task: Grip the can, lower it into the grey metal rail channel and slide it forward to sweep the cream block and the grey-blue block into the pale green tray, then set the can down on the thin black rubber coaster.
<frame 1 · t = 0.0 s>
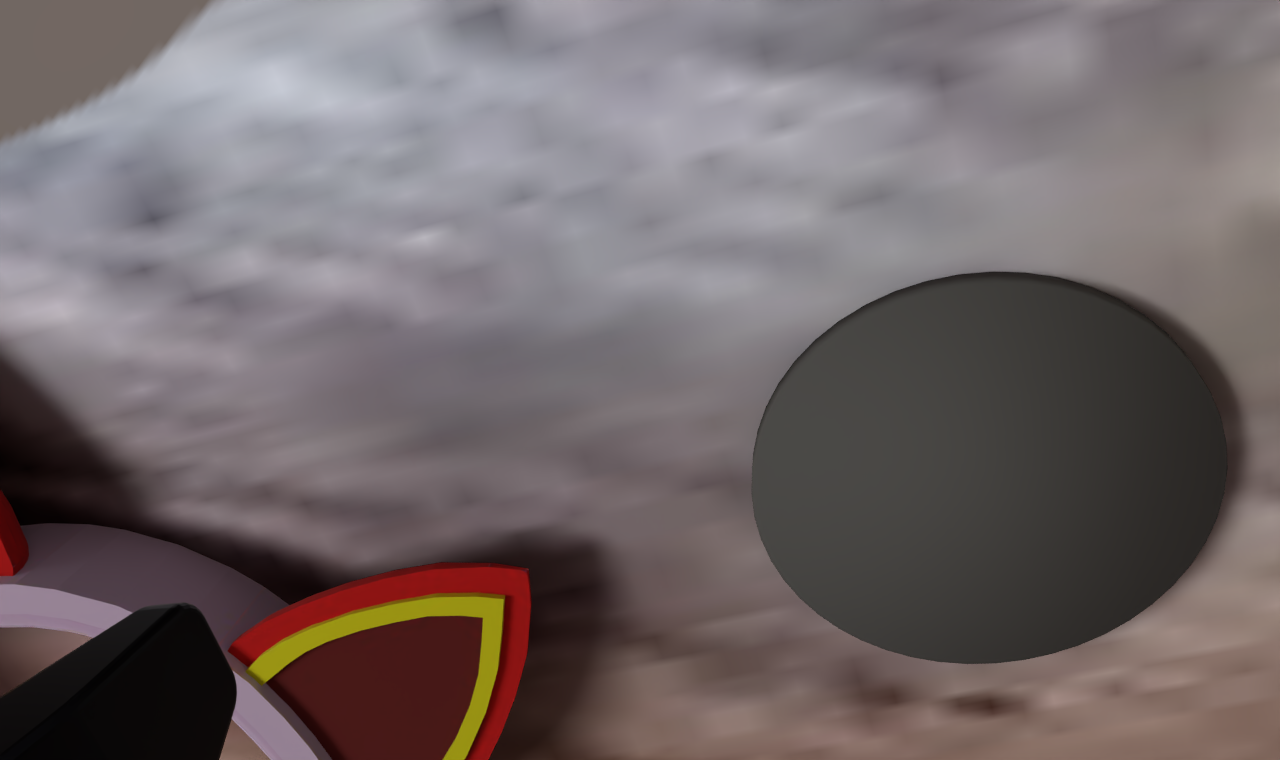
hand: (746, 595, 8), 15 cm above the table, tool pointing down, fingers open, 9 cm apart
coaster: (976, 477, 24), on the table
headphones: (163, 668, 32), on the table
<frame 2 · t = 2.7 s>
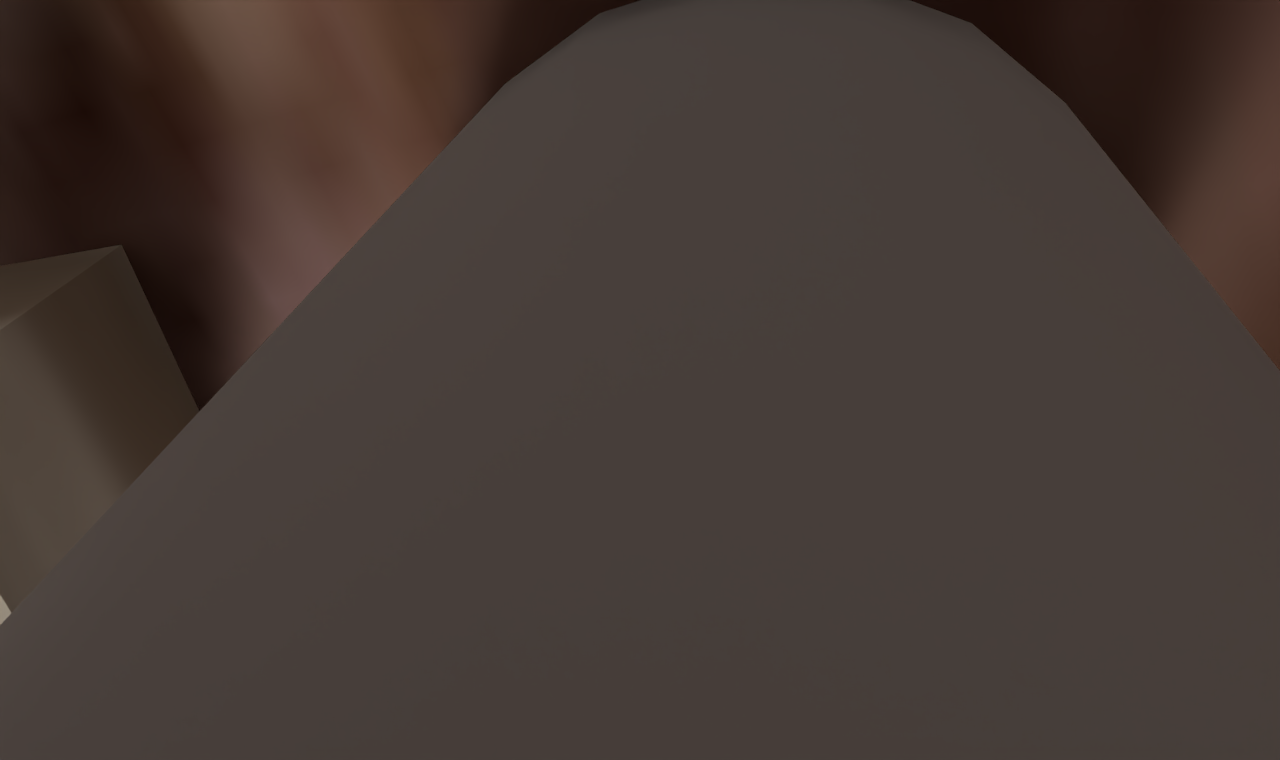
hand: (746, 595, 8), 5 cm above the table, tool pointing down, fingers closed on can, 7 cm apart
can: (764, 297, 13), on the table, touching gripper
cream block: (59, 402, 15), on the table
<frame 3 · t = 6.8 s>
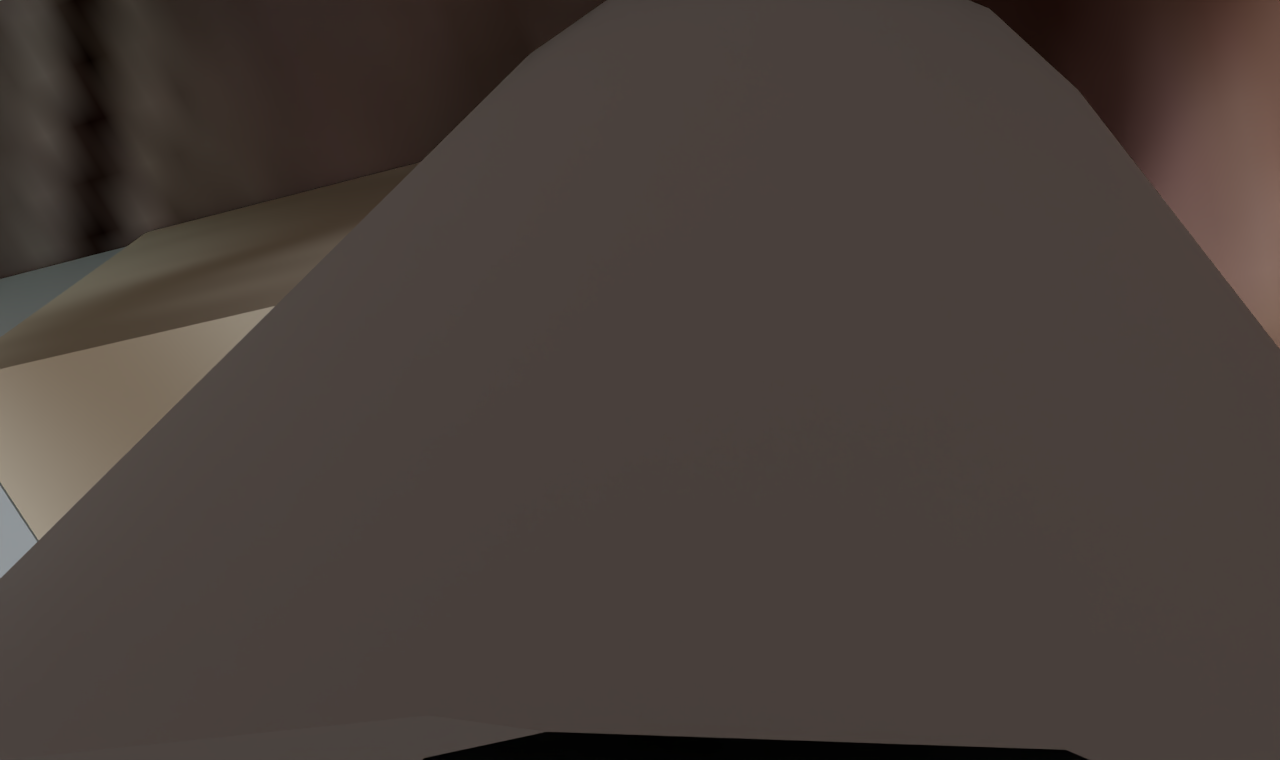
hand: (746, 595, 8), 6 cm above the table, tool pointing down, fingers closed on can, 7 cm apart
can: (775, 275, 13), on the table, touching gripper
cream block: (344, 337, 14), on the table
grey-blue block: (95, 399, 15), on the table
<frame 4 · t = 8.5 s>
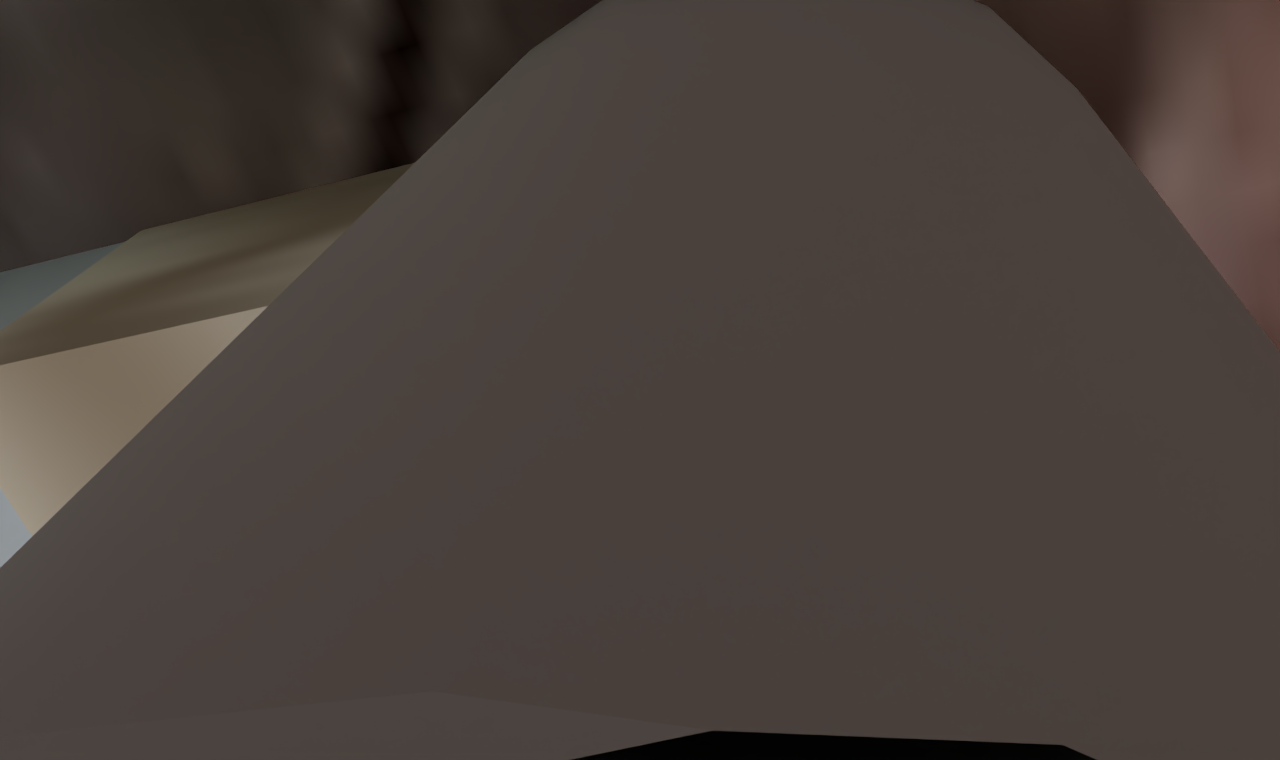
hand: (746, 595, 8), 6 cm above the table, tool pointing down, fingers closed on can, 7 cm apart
can: (774, 272, 13), on the table, touching cream block, gripper
cream block: (341, 335, 14), on the table, touching can
grey-blue block: (94, 392, 15), on the table
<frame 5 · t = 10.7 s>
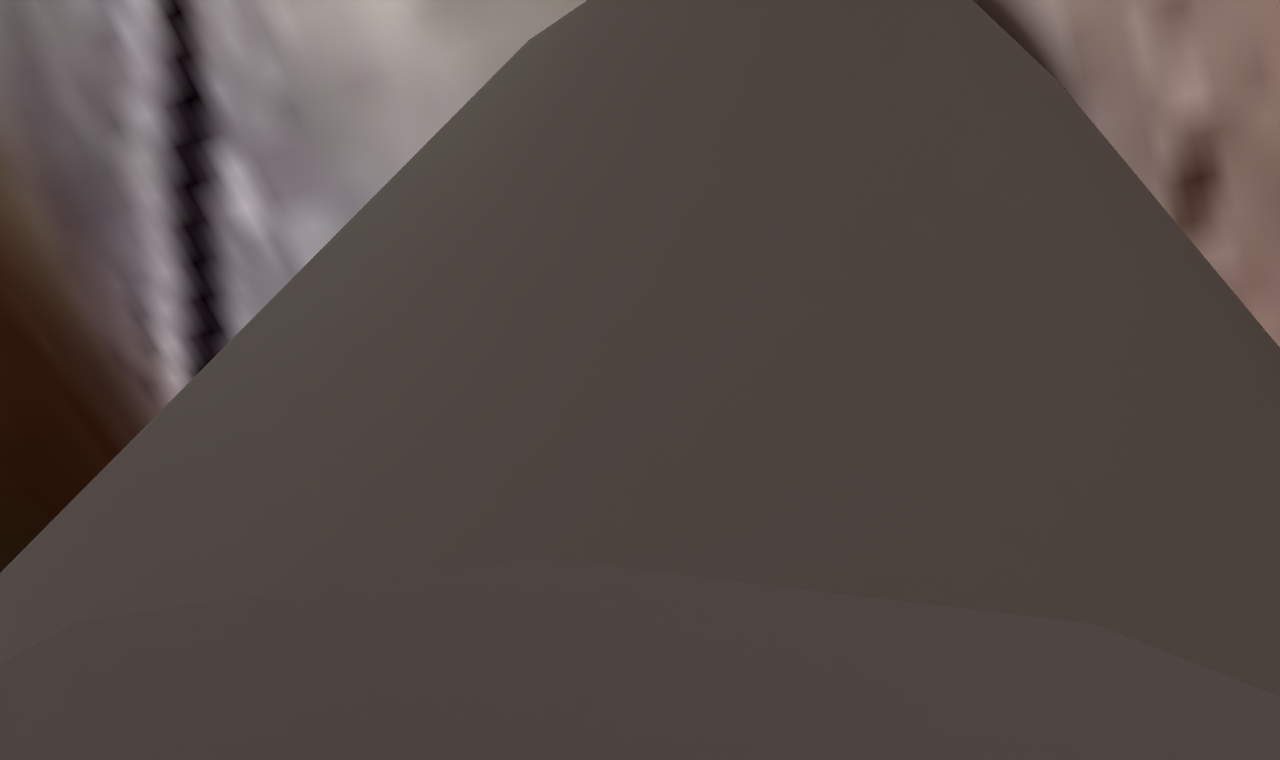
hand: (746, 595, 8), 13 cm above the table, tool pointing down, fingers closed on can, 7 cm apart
can: (763, 260, 13), point 7 cm above the table, touching gripper
when the fingers open (7 cm above the table, at t = 12.6 s): can stays where it is, resting on coaster.
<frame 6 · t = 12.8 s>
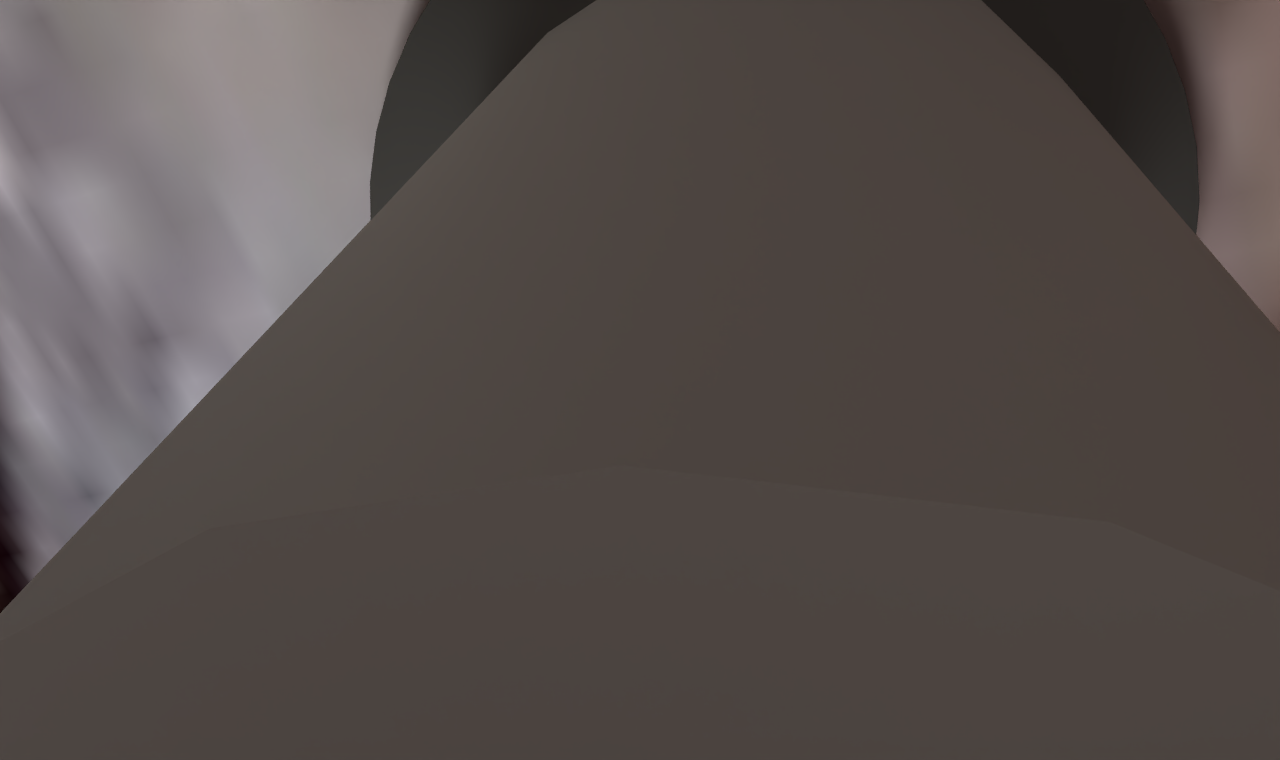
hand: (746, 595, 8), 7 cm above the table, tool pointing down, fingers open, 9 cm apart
can: (771, 250, 14), resting on coaster
coaster: (764, 247, 14), on the table
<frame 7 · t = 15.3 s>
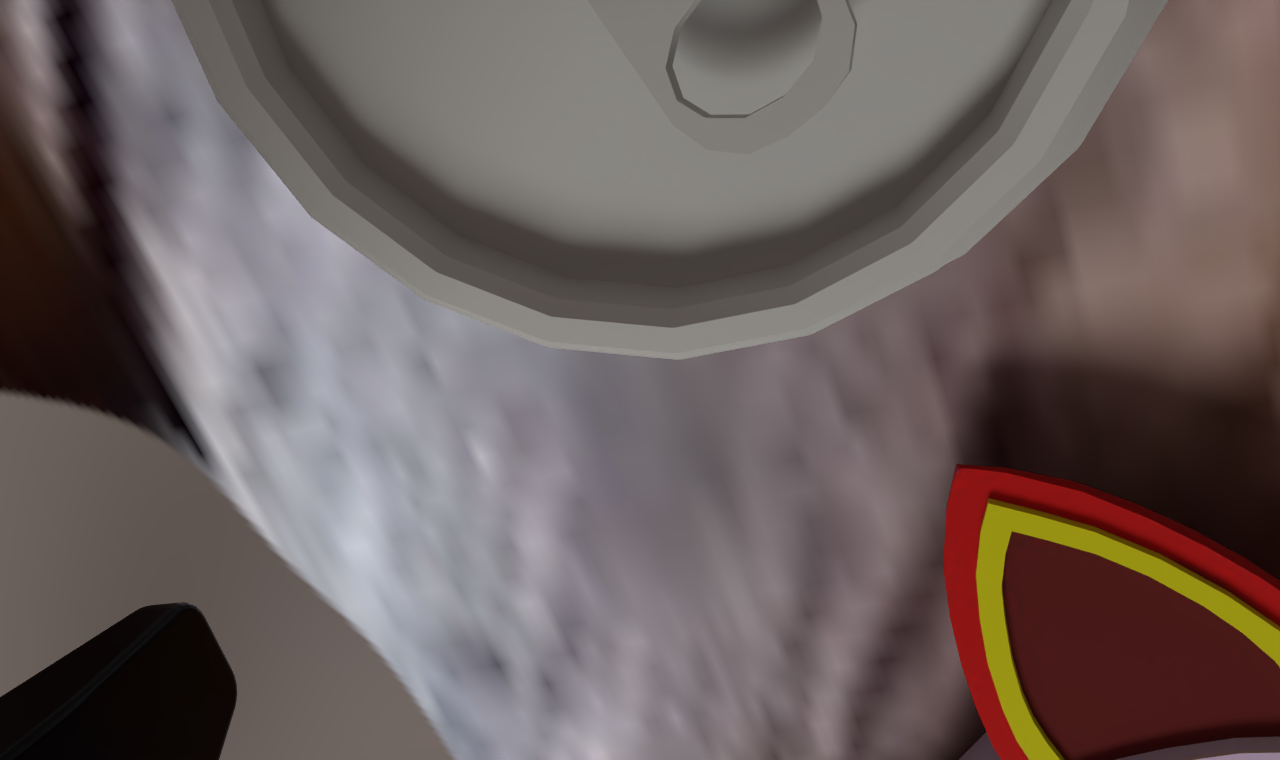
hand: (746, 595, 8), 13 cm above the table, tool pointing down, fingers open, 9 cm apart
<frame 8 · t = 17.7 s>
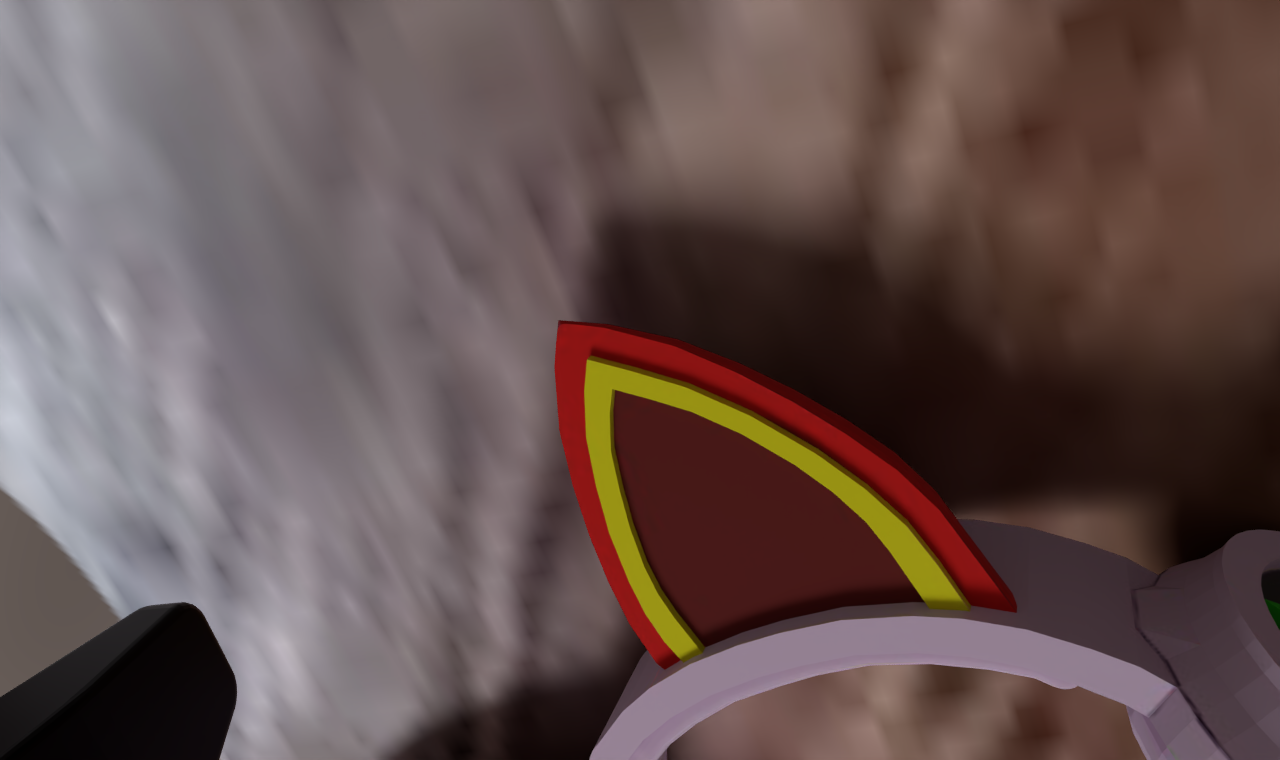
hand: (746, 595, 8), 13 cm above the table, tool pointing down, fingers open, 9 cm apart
headphones: (841, 724, 27), on the table
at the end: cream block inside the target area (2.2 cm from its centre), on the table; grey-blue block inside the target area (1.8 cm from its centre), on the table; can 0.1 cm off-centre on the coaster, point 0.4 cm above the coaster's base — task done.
